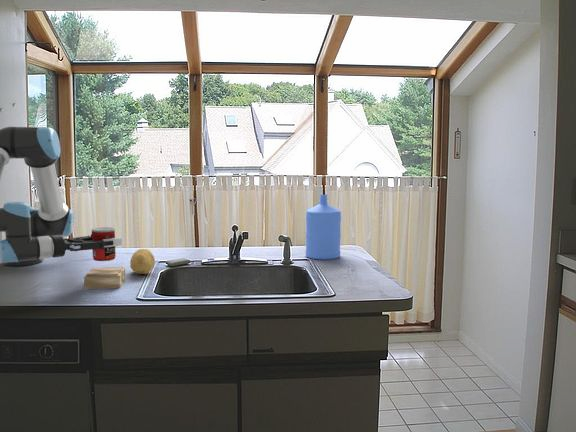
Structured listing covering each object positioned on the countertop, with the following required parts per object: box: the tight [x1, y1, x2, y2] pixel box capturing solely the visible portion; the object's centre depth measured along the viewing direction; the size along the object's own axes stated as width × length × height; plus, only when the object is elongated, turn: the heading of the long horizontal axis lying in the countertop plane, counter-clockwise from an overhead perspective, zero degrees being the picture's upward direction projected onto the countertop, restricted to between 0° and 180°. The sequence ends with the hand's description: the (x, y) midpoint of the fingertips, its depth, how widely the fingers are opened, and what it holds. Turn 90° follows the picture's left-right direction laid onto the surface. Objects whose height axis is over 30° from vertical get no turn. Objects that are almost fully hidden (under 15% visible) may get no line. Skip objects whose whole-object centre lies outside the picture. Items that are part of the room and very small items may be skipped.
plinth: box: [83, 266, 126, 290], centre depth 198 cm, size 12×12×5 cm
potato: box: [129, 248, 156, 275], centre depth 214 cm, size 10×14×10 cm
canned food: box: [91, 226, 117, 262], centre depth 196 cm, size 8×8×11 cm
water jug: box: [305, 194, 342, 261], centre depth 246 cm, size 16×16×28 cm
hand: (116, 239), depth 199 cm, fingers closed on canned food, 8 cm apart
